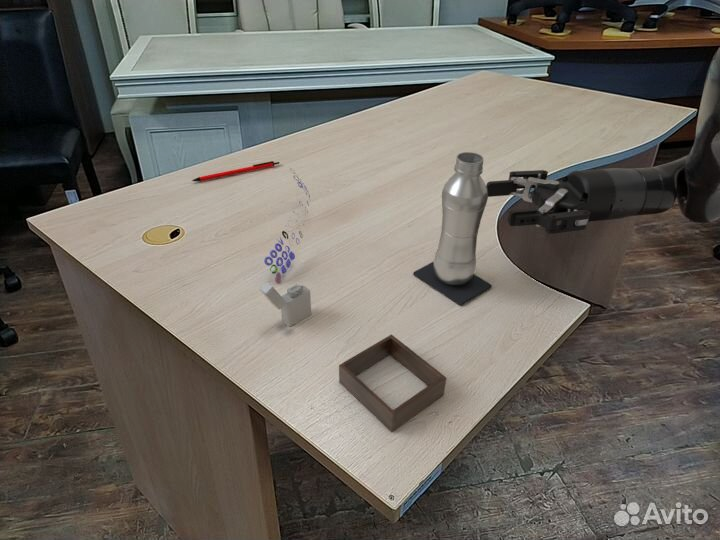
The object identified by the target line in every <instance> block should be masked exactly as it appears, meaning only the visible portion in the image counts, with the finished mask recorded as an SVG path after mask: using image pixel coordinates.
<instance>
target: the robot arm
mask: <svg viewBox="0 0 720 540" xmlns="http://www.w3.org/2000/svg"><path fill="white" fill-rule="evenodd" d="M695 127H696V129H695V136H694V142H693V145H692V147H691V148H690V151H689V153H688V154H687V155H684V156H682V157H680V158H677V159H675V160H673V161H670V162H666V163H663V164H659V165H655V166H647V167H634V168H625V167H624V168H623V167H609V168H597V169H596V168H595V169H582V170H573V171H571V172H568V174H566V176H565V177H564V178H562V179H561V180H557V179H556V180H555V179H549V178H548V174H549V171H548V170H544V169H539V170H538V169H535V170H516V171H514V170H513V171H510V172H509V174H508V175H509V177H508V179H505V180H504V179H503V180H492V181H491V180H490V181H488V182H487V183H486V184H485V185H486V187H487V191H488V198H490V197H504V196H505V197H506V196H515V197H519V198H521V199H522V201H524V202H528V203H532V204H534V205H535V206H536V207H537V208H538V209H537V208H536V207H531V208H530V207H529V208H518V209H511V210H509V212H508V217H507V224H508V225H509V226H510V227H523V226H524V227H525V226H534V225H535V227H536V228H544V232H545V233H546V234H548V235H553V234H554V235H555V234H560V233H570V232H576V231H584V230H586V229H587V225H588V223H590V222H599V221H613V220H619V219H624V218H628V217H637V216H648V215H658V214H663V213H666V212H667V211H669V210H671V208H672V207H673V206H674V204H675V202H676V200H677V204H678V208H679V210H680V213H681V214H682V216H684V217H685V218H686V219H687V220H689V221H691V222H695V223H709V222H713V221H717V220H719V219H720V46H719V47H718V49H717V50H716V52H715V53H714V55H713V57H712V59H711V62H710V63H709V66H708V69H707V73H706V76H705V80H704V84H703V90H702V94H701V100H700V105H699V110H698V116H697V122H696V126H695ZM532 189H533V190H532ZM531 191H533V192H532V194H531ZM557 222H560V224H557ZM716 540H720V535H719V536H718V538H717V539H716Z"/></svg>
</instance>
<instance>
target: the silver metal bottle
mask: <svg viewBox="0 0 720 540" xmlns="http://www.w3.org/2000/svg"><path fill="white" fill-rule="evenodd" d="M453 170H454V172H455V173H453V174H452V175H451V176H450V177H449V178H448V179H447V181H446V182H445V184H444V185H443V188H442V190H441V210H442V211H441V213H442V215H441V217H442V218H441V231H440V232H441V233H440V237H439V242H438V246H437V249H436V252H435V255H434V257H433V262H434V272H435V274H436V276H437V277H438V279H439V280H440V281H442V282H444V283H446V284H449V285H463V284H465V283H467V282H468V281H469V280H471V279H472V277H473V275H474V274H475V272H476V269H477V241H478V235H479V229H480V227H481V226H480V225H481V221H482V218H483V216H484V215H483V214H484V212H485V208H486V206H487V203H488V199H489V197H488V191H487V187H486V185H487V184H486V183H485V180H484V178H482V176H481V175H482V174H483V171H484V157H483V155H481V154H479V153H477V152H473V151H471V152H470V151H463V152H460V153H458V154H457V155H456V158H455V164H454V167H453Z"/></svg>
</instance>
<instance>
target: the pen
mask: <svg viewBox="0 0 720 540" xmlns="http://www.w3.org/2000/svg"><path fill="white" fill-rule="evenodd" d="M276 165H280V161H277V162H275V161H273V160H270V161H266V162H261V163H256V164H252V165H251V166H246V167H242V168H237V169H231V170H226V171H221V172H217V173H212V174H207V175H201V176H198V177H196V178H194V179H192V180H191V182H203V181H208V180H215V179H219V178H223V177H227V176H232V175H237V174H242V173H243V174H244V173H247V172H252V171H257V170H262V169H266V168H272V167H275V166H276Z"/></svg>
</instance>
